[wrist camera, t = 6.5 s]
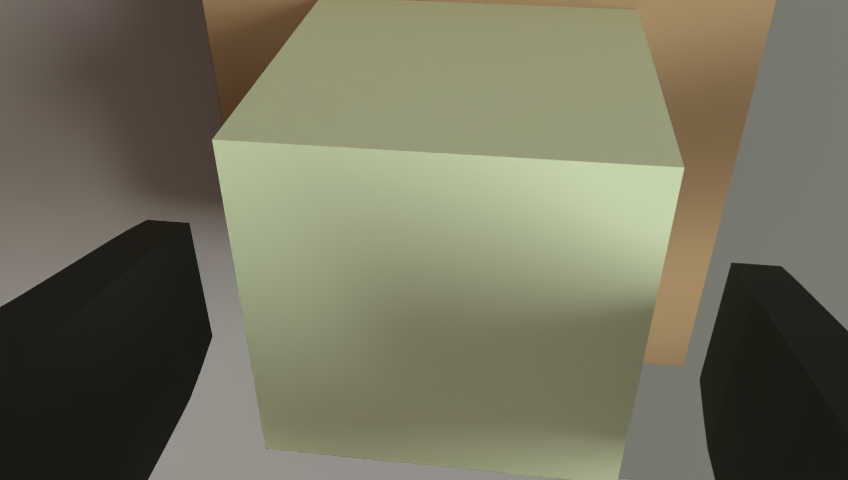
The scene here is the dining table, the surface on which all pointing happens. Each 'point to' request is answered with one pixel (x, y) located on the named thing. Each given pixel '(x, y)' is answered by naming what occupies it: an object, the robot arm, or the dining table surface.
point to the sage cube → (452, 233)
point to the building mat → (764, 222)
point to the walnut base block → (682, 90)
